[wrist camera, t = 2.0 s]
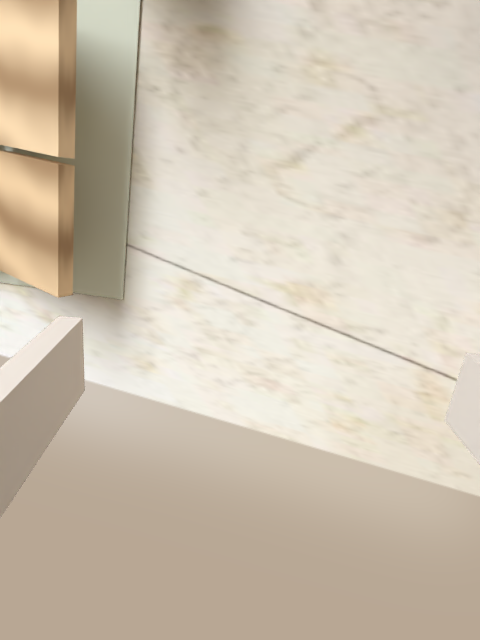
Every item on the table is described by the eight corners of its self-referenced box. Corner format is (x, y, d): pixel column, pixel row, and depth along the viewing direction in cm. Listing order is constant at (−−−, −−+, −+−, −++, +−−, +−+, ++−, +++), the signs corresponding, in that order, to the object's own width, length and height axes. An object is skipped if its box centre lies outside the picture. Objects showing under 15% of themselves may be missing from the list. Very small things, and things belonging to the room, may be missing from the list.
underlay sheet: (-90, -50, 32) (-92, -51, 32) (141, -7, 33) (140, -8, 33) (-59, 273, 41) (-60, 273, 41) (123, 299, 42) (122, 299, 42)
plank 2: (8, 151, 37) (-8, 149, 36) (74, 165, 33) (58, 164, 31) (12, 267, 41) (-2, 269, 39) (72, 294, 36) (58, 297, 35)
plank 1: (3, 0, 33) (-16, -7, 32) (77, -6, 29) (58, -14, 28) (8, 144, 37) (-9, 142, 36) (74, 158, 32) (58, 156, 31)
